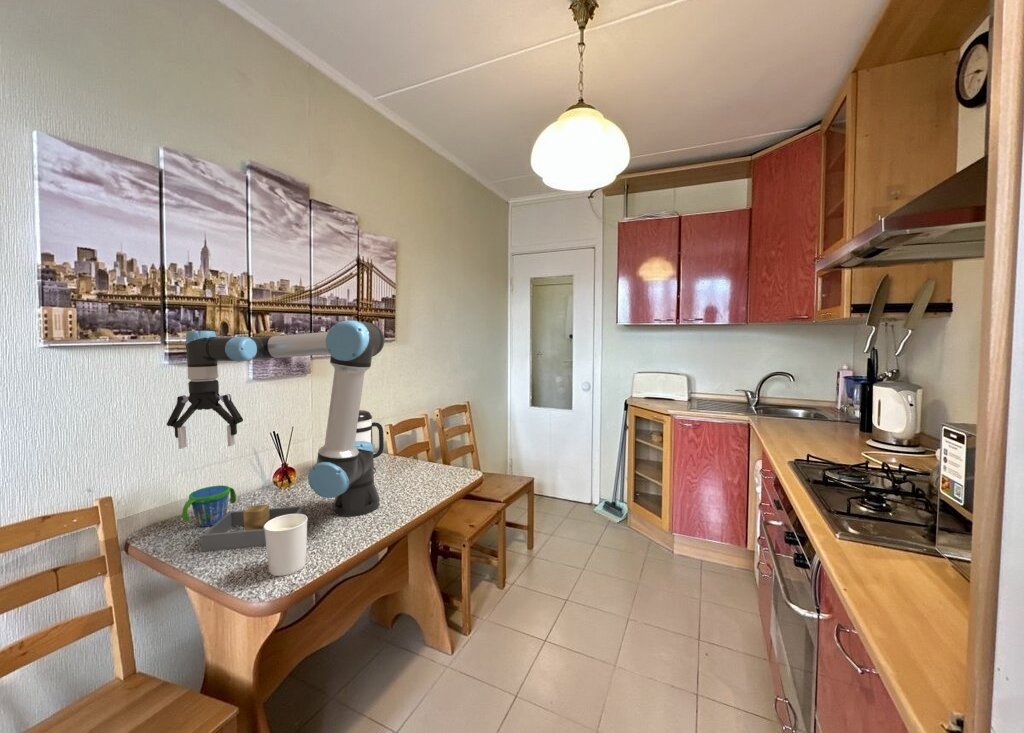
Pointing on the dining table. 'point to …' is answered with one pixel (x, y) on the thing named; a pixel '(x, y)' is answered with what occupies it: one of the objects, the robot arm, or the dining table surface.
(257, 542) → the charcoal bin
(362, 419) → the coffee press
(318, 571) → the dining table surface
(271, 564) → the candle holder
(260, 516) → the ochre block
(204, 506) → the snack cup
